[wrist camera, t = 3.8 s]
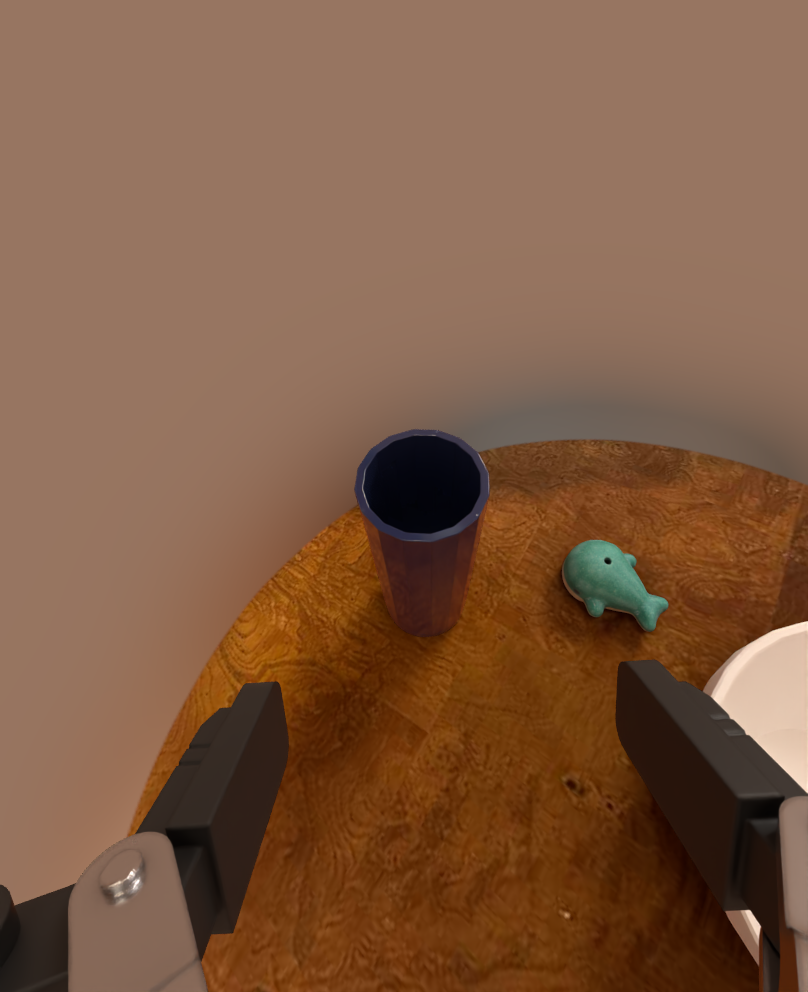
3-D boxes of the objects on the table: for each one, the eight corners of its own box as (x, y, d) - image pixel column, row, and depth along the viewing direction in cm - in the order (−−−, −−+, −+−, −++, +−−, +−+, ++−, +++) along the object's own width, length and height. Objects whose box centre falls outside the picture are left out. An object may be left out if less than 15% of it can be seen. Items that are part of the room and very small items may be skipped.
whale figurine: (584, 535, 35) (600, 512, 32) (672, 595, 32) (699, 577, 29) (542, 587, 33) (555, 567, 30) (632, 656, 30) (656, 642, 27)
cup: (399, 648, 31) (376, 560, 18) (376, 573, 35) (341, 449, 21) (477, 621, 32) (512, 516, 19) (447, 550, 35) (459, 415, 22)
